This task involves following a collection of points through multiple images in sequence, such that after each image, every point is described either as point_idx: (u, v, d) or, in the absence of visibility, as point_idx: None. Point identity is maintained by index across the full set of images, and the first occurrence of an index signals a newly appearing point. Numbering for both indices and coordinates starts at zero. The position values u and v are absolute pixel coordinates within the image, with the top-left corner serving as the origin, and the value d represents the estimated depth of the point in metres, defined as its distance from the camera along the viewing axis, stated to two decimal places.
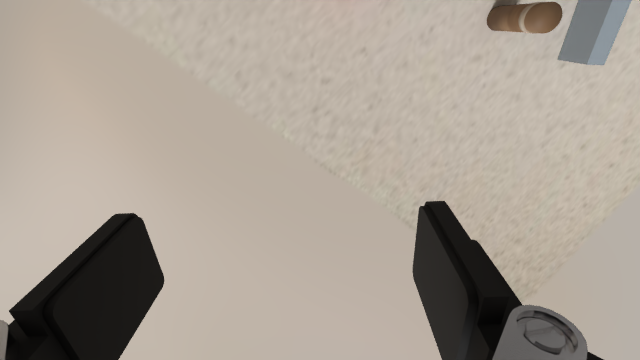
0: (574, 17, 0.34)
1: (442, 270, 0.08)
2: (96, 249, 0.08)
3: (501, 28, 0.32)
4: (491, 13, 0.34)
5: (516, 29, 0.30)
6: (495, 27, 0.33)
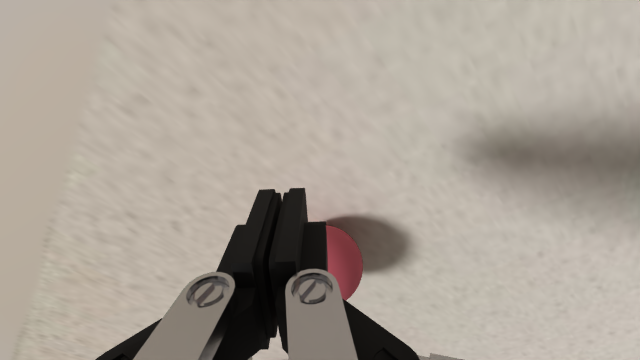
0: None
1: None
2: (265, 217, 0.09)
3: None
4: None
5: None
6: None
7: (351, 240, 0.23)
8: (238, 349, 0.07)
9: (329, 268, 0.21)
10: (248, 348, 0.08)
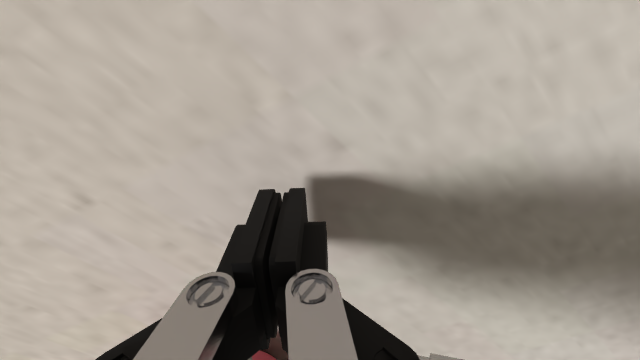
0: None
1: None
2: (265, 217, 0.09)
3: None
4: None
5: None
6: None
7: None
8: (238, 349, 0.07)
9: None
10: (247, 348, 0.08)
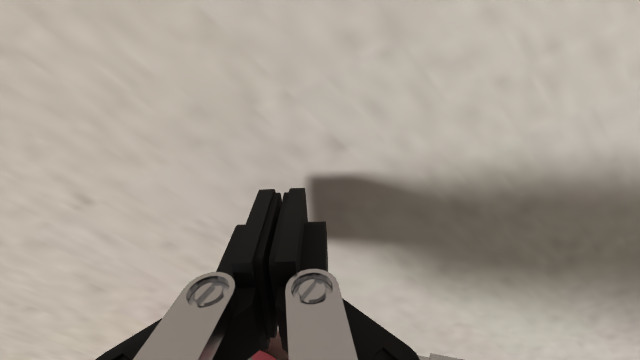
0: None
1: None
2: (265, 217, 0.09)
3: None
4: None
5: None
6: None
7: None
8: (238, 349, 0.07)
9: None
10: (247, 348, 0.08)
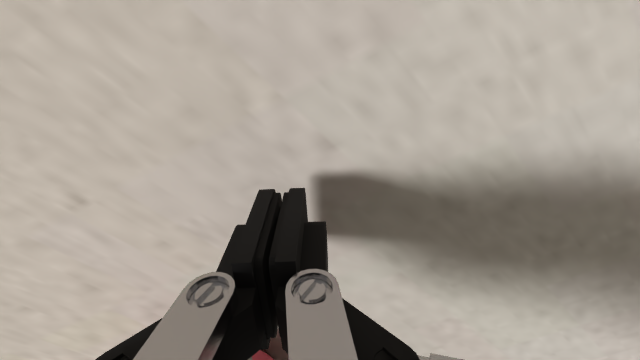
0: None
1: None
2: (265, 217, 0.09)
3: None
4: None
5: None
6: None
7: None
8: (238, 349, 0.07)
9: (272, 358, 0.17)
10: (248, 348, 0.08)
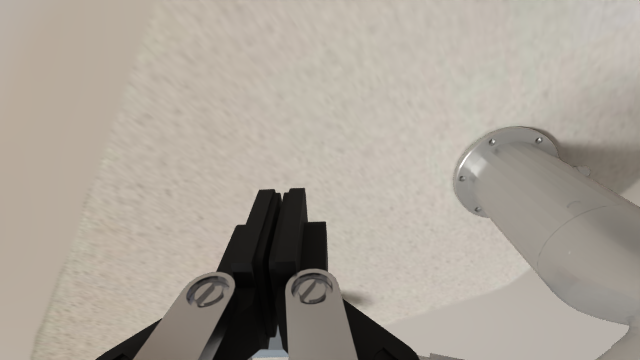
0: None
1: None
2: (265, 217, 0.09)
3: None
4: None
5: None
6: None
7: None
8: (238, 349, 0.07)
9: None
10: (248, 348, 0.08)
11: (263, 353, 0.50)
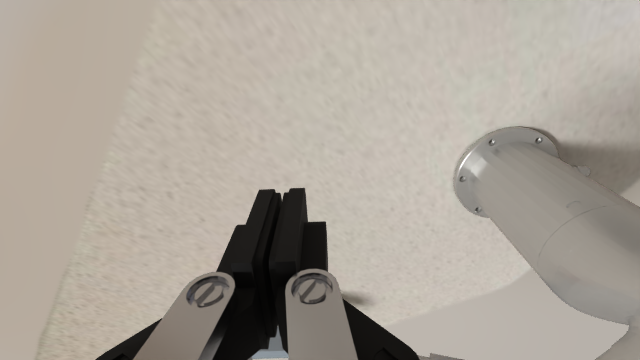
0: None
1: None
2: (265, 217, 0.09)
3: None
4: None
5: None
6: None
7: None
8: (238, 349, 0.07)
9: None
10: (248, 348, 0.08)
11: (265, 354, 0.51)
